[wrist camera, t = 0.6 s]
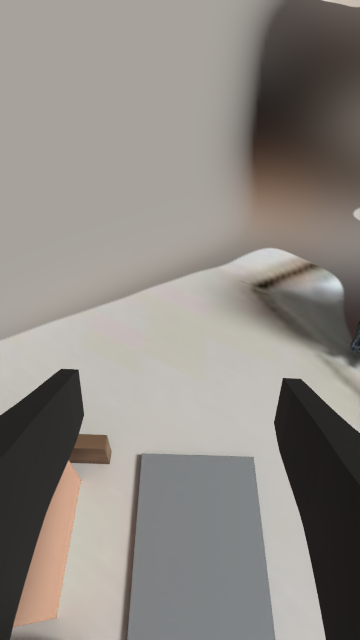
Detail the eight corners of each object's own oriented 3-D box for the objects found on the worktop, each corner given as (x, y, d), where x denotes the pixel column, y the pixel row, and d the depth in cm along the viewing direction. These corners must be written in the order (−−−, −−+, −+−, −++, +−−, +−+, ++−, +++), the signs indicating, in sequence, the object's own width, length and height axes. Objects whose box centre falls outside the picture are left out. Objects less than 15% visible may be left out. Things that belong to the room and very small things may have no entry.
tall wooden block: (56, 617, 21) (9, 627, 14) (7, 617, 21) (-64, 627, 14) (81, 480, 26) (55, 438, 19) (41, 479, 26) (1, 436, 19)
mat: (276, 664, 21) (278, 665, 20) (125, 663, 20) (125, 664, 20) (252, 458, 28) (253, 456, 28) (142, 455, 28) (141, 453, 28)
